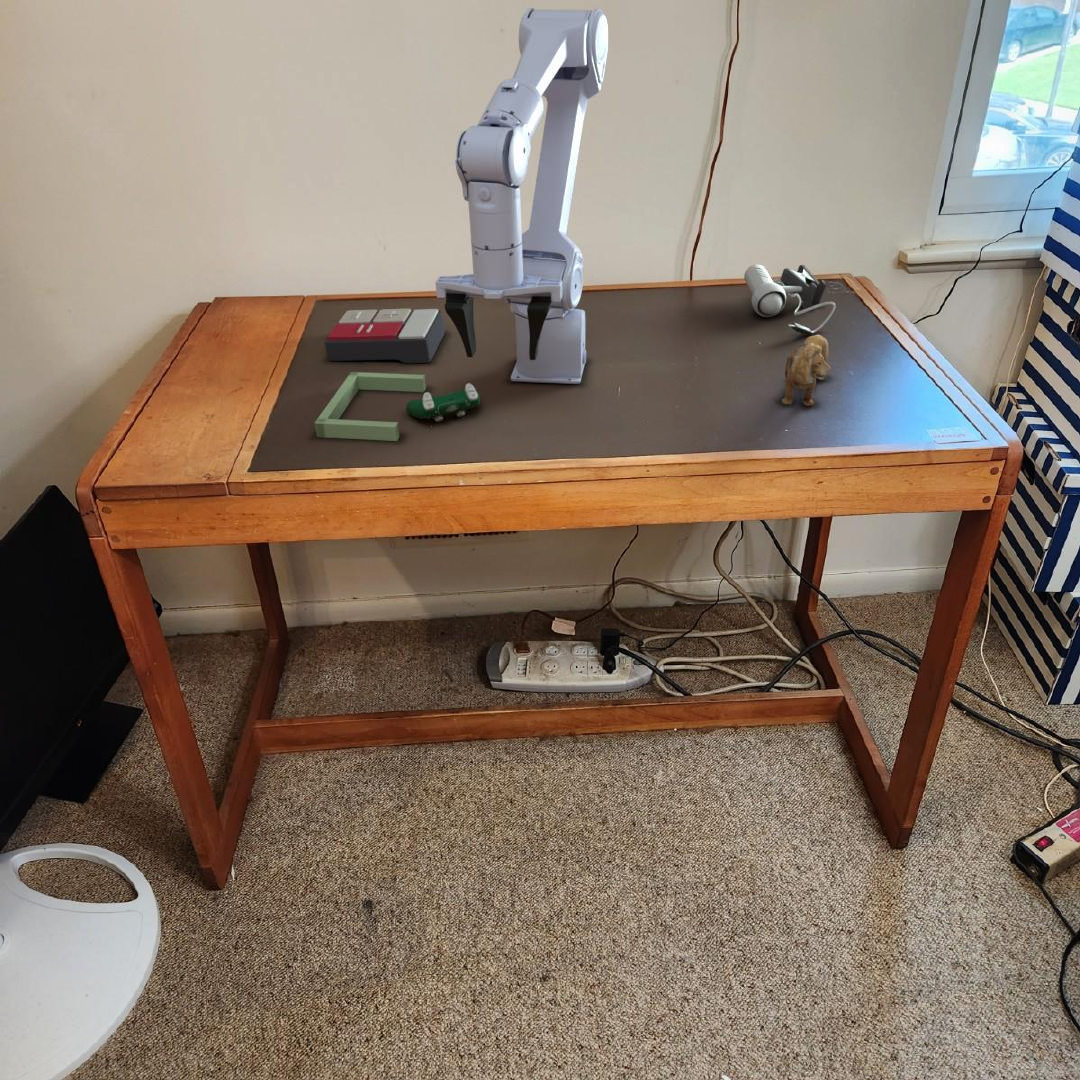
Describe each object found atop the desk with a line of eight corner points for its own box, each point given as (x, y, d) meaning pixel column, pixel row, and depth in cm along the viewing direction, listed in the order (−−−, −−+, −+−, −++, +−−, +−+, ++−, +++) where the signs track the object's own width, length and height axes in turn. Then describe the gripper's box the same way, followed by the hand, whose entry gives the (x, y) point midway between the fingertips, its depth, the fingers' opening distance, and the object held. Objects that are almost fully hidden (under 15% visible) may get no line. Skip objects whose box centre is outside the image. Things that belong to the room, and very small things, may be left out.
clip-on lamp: (841, 351, 134) (801, 284, 145) (857, 315, 129) (814, 249, 141) (767, 351, 132) (732, 283, 143) (780, 314, 127) (743, 247, 139)
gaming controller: (411, 433, 114) (419, 418, 108) (403, 405, 114) (409, 388, 109) (479, 417, 117) (489, 402, 111) (470, 390, 117) (480, 373, 112)
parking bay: (426, 388, 120) (424, 374, 119) (397, 441, 109) (395, 426, 108) (353, 385, 122) (351, 371, 120) (317, 437, 110) (314, 422, 109)
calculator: (344, 307, 135) (441, 304, 133) (350, 334, 137) (445, 332, 135) (321, 337, 126) (425, 334, 124) (328, 365, 128) (430, 363, 126)
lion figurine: (821, 421, 110) (833, 353, 105) (777, 416, 112) (787, 349, 106) (827, 371, 122) (839, 307, 116) (787, 367, 123) (797, 304, 118)
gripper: (424, 252, 98) (436, 366, 106) (555, 255, 96) (557, 372, 104) (440, 232, 104) (449, 342, 112) (564, 235, 102) (565, 347, 110)
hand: (502, 355), depth 108 cm, fingers open, 7 cm apart
